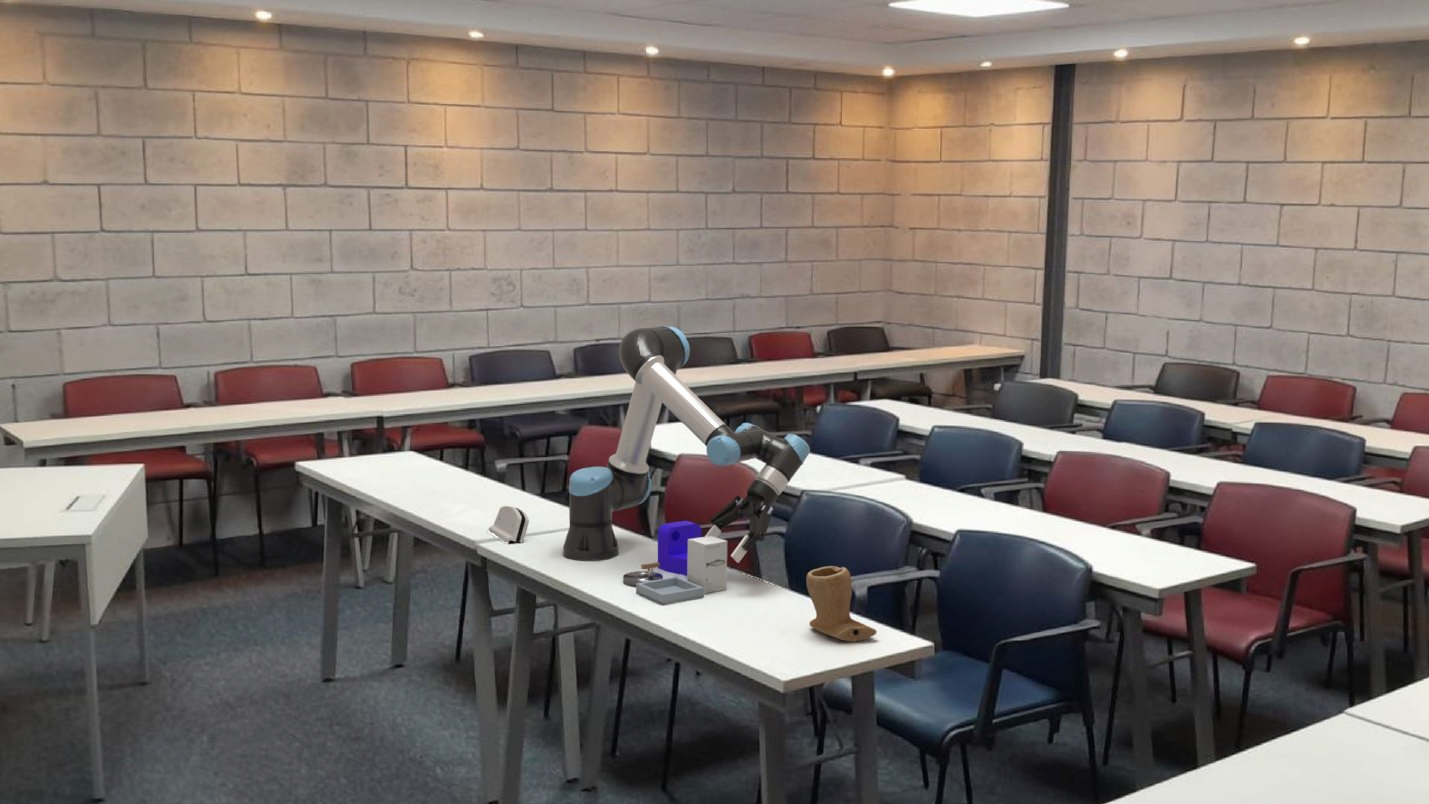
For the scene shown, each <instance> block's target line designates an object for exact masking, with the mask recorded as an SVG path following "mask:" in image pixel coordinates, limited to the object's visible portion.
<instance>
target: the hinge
mask: <svg viewBox="0 0 1429 804" xmlns="http://www.w3.org/2000/svg"><path fill="white" fill-rule="evenodd" d="M529 523H530V519H529V516H528V515H527V514H526V512H525V511H524V510H522V509H520V508H519V507H518V508H517V507H514V506H509V505H507V506H501V507H500V508H499V510H498V512H497V515H496V518H495V521H494V523H493V525H491V526H489V527H488V530H489V531H490V532H491V533H494V534H495V535H496V536H498V537H499V538H500V539H502V540H503V541H504V542H507V543H508V544H509V543H510V541H512V542H518V543H519V542H523V543H524V542H525V538H526V534H527V531H528V526H529Z"/></svg>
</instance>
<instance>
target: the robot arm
mask: <svg viewBox="0 0 1429 804" xmlns="http://www.w3.org/2000/svg"><path fill="white" fill-rule="evenodd" d="M619 343H620V344H619V349H618V356H619V360H620V362H621V363H620V364H621V366H622V367H623V369H624V370H625V371H626V373H627V374H628V376H629V377H630V378H631V379H632V380H633V381H635V383H634V386H633V390H632V392H631V393H632V394H631V398H630V402H629V405H628V408H627V411H626V416H625V419H624V424H623V427H622V429H621V430H622V431H621V434H620V437H619V441H618V445H617V449H616V453H614V454H612V455H611V456H609V457H608V461H607V464H606V467H604V466H591V467H583V468H580V469H577V470H576V471H574V472H573V473H571V475H570V476H569V485H568V493H569V494H568V498H569V499H568V500H569V501H568V507H569V509H568V511H569V527H568V530H567V533H566V537H565V541H564V544H563V547H562V552H563V553H562V555H563V556H564V557H565V558H567V559H572V560H578V561H603V560H608V559H612V558H614V557H615V558H616V557H617V556H618V555H619V544H618V543H619V542H618V541H617V538H616V535H615V532H614V528H613V512H617V511H621V510H625V509H632V508H634V507H636V506H638V505H640V504H642V503H643V502H645V501H646V500H647V499H648V497H650V494H651V491H652V486H653V485H652V484H653V482H652V479H651V478H650V477H651V474H650V472H649V470H650V467H649V465H648V463H647V462H646V461H647V458H648V454H649V450H650V447H651V444H652V441H653V436H654V434H655V433H654V432H655V429H656V425H657V422H658V419H659V414H660V413H661V412H660V411H661V407H662V404H663V405H664V406H665V407H666V408H667V409H668V410H669V411H670V412H671V413H672V415H674V416H675V417H676V418H677V419H678V420H679V421H680V422H681V423H682V424H683V425H685V427H687V429H688V430H690V432H692V434H693V435H695V437H697V439H698V440H699V441H700V442H701V443H702V444H704V445H705V447H706V455H707V457H708V459H709V462H711V463H712V464H714V465H716V466H719V467H720V466H732V465H734V464H736V463H737V464H738V463H740V462H744V461H750V460H753V459H756V460H758V461H761V462H762V463H764V464H765V465H764V466H763V467H762V468H761V469H760V471H759V472H758V474H756V476H755V479H754V480H753V481H752V482H751V484H750V485H749V486H748V487H747V489H746V496H745V497H744V498H742V497H741V496H740V495H739V494H738V495H736V496H735V497H734V498H733V500H732V501H731V502H729V503H728V504H727V505H726V506H724V507H723V508H722V509H720V510H719V511H718V512H717V513H716V514H714V515H713V516H712V517H711V518H710V519H709V522H711V524H712V525H711V527H710V528H709V529H708V531H707V532H706V534H705V536H704V537H707V536H713V537H716V538H719V536H720V534H721V533H722V529H724V528H726V527H728V526H729V525H731V524H732V523H734V522H736V521H737V520H739V519H741V520H742V519H744V518H745V519H749V526H748V527H749V528H748V529H749V530H748V533H747V532H746V533H747V535H746V534H745V535H744V536H743V538H742V539H741V541H740V542H739V543H738V545H737V546H736V548H735V549H734V550H733V552H732V553H731V554H730V557H731V558H732V559H733V560H734V561H735V562H736V563H738V564H740V562H741V560H742V559H743V558H744V556H745V555H746V554H747V552H748V551H750V550H751V548H752V546H753V545H754V544H755V543H757V542H758V541H759V542H763V541H765V539H766V535H767V532H768V528H769V525H770V521H771V517H772V516H773V514H774V513H775V509H774V508H773V507H772V506H773V505H774V503H775V502H776V501H777V499H778V496H779V495H781V494H782V493H783V491H784V489H785V488H786V486H787V485H788V484H789V483H790V481H791V480H792V478H793V477H794V476H795V475H796V473H797V472H798V470H799V469H800V468H801V467H802V465H804V462H805V461H806V459H807V458H808V456H809V455H810V451H811V450H810V446H809V444H808V443H807V442H806V441H805V440H804V439H803V438H802V437H800V436H799V435H796V434H793V433H788V434H787V435H786V436H785V437H784V438H781V437H779V436H777V435H775V434H772V433H770V432H768V431H767V430H765V429H763V428H761V427H760V426H759V425H754V424H752V423H749V422H743V423H742V424H741V425H740V426H738V427H737V428H736V430H732V429H731V428H730V427H729V426H728V425H727V423H725V422H724V421H723V420H722V419H721V418H720V417H718V415H717V414H716V413H714V411H713V410H712V409H710V407H708V405H707V404H705V403H704V401H702V400H701V399H700V397H699V396H697V395H696V394H695V392H694V391H692V389H690V387H688V386H687V385H686V384H685V382H683V381H682V379H681V378H679V377H678V376H677V371H678V369H680V368H682V367H683V366H685V364H686V363H687V362H688V360H689V357H690V349H691V348H690V344H689V341H688V340H687V336H686V335H685V334H684V333H683V332H682V331H681V330H680V329H679V328H677V327H675V326H666V325H662V326H661V325H660V326H656V327H655V326H654V327H644V328H643V327H642V328H640V327H639V328H635V329H633V330H631V331H629V332H627V334H625V335H624V336H623V337H622V339H621V341H620V342H619Z"/></svg>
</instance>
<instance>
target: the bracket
mask: <svg viewBox="0 0 1429 804" xmlns="http://www.w3.org/2000/svg"><path fill="white" fill-rule="evenodd" d="M700 537H702V527H701V525H699V524H697V523H694V522H692V521H688V520H683V521H675V522H674V521H673V522H667V523H663V524H661V525H660V526H659V528H658V529H657V562H659V563H660V567H657V569H659V570H661V571H664V572H667V573H672V574H676V575H680V574H681V576H685V577H687V558H688V539H693V538H700Z"/></svg>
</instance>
